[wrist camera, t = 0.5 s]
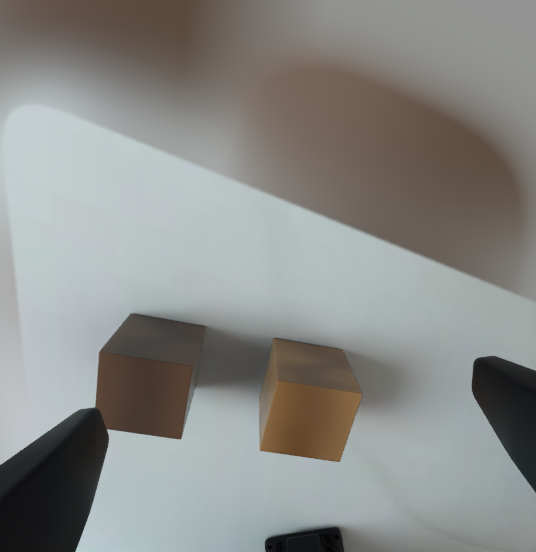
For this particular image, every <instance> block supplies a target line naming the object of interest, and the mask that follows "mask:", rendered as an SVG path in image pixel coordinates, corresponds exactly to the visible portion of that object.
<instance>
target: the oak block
mask: <svg viewBox="0 0 536 552" xmlns="http://www.w3.org/2000/svg"><path fill="white" fill-rule="evenodd" d="M361 398H362V392H361V389H360V387H359V385H358V383H357V380H356V378H355V376H354V374H353V372H352V369H351V367H350V365H349V363H348V361H347V358H346V356H345V354H344V352H343V350H340V349H335V348H329V347H323V346H317V345H311V344H306V343H300V342H294V341H288V340H282V339H277V338H273V341H272V345H271V349H270V354H269V358H268V362H267V366H266V371H265V375H264V379H263V383H262V388H261V392H260V396H259V432H260V451H266V452H273V453H280V454H287V455H294V456H301V457H308V458H315V459H322V460H329V461H336V462H340V460H341V457H342V454H343V451H344V448H345V445H346V442H347V439H348V436H349V433H350V430H351V427H352V424H353V421H354V418H355V415H356V412H357V409H358V406H359V403H360V401H361Z"/></svg>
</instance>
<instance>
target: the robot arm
mask: <svg viewBox="0 0 536 552" xmlns="http://www.w3.org/2000/svg"><path fill="white" fill-rule="evenodd" d="M472 392H473V395H474V397H475V399H476V401H477V403H478V404H479V406H480V408H481V409H482V411H483V413H484V414H485V416H486V418H487V419H488V421H489V423H490V425H491V426H492V428H493V430H494V431H495V433H496V435H497V436H498V438H499V440H500V441H501V443H502V445H503V446H504V448H505V450H506V451H507V453H508V454H509V456H510V457H511V459H512V460H513V462H514V463H515V465H516V466H517V467H518V469H519V470H520V472H521V473H522V474H523V476H524V477H525V478H526V480H527V481H528V483H529V484H530V485H531V487H532V488H533V489H534V491H535V492H536V371H535V370H532V369H529V368H526V367H524V366H521V365H518V364H515V363H513V362H510V361H507V360H504V359H501V358H499V357H496V356H488V357H480V358H477V359H476V360H475V361H474V365H473V377H472ZM108 443H109V436H108V432H107V429H106V426H105V423H104V420H103V417H102V414H101V412H100V410H99V409H98V408H87V409H80V410H78V411H77V412H75V413H74V414H72V415H71V416H69V417H68V418H67V419H65V420H64V421H62V422H61V423H60V424H58V425H57V426H55V427H54V428H52V429H51V430H50V431H48V432H47V433H45V434H44V435H42V436H41V437H40V438H38V439H37V440H35V441H34V442H33V443H31V444H30V445H28V446H27V447H26V448H24V449H23V450H21V451H20V452H18V453H17V454H16V455H14V456H13V457H11V458H10V459H9V460H7V461H6V462H4V463H3V464H1V465H0V552H75V551H76V548H77V546H78V543H79V540H80V538H81V535H82V532H83V530H84V527H85V524H86V522H87V519H88V516H89V513H90V510H91V507H92V503H93V500H94V496H95V493H96V489H97V485H98V481H99V478H100V474H101V470H102V467H103V463H104V459H105V455H106V452H107V448H108ZM265 550H266V552H344V548H343V541H342V535H341V531H340V530H339V529H337V528H333V529H327V530H320V531H314V532H307V533H301V534H294V535H287V536H281V537H274V538H269V539H267V540H266V541H265Z"/></svg>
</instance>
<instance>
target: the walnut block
mask: <svg viewBox="0 0 536 552" xmlns="http://www.w3.org/2000/svg"><path fill="white" fill-rule="evenodd" d="M204 333H205V326H201V325H195V324H189V323H183V322H177V321H172V320H166V319H160V318H154V317H148V316H143V315H137V314H130V315H129V316H128V318H127V319H126V320H125V321H124V322H123V324H122V325H121V326H120V327H119V329H118V330H117V331H116V332H115V333H114V335H113V336H112V337H111V338H110V339H109V341H108V342H107V343H106V344H105V346H104V347H103V348H102V349H101V350H100V352H99V364H98V378H97V392H96V406H95V408H98V409H99V410H100V412H101V414H102V417H103V420H104V423H105V426H106V429H110V430H117V431H124V432H131V433H138V434H145V435H152V436H159V437H166V438H173V439H181V438H182V435H183V431H184V427H185V424H186V420H187V416H188V412H189V409H190V405H191V401H192V398H193V394H194V390H195V386H196V380H197V374H198V368H199V362H200V356H201V350H202V344H203V339H204Z"/></svg>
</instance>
